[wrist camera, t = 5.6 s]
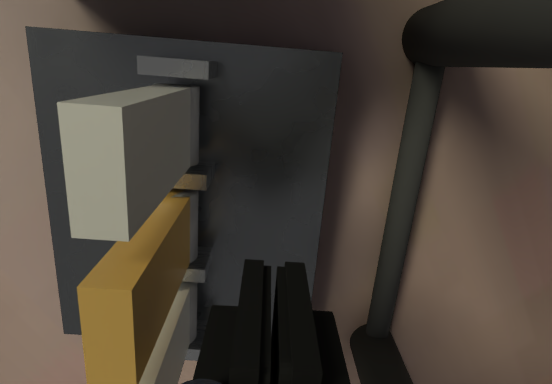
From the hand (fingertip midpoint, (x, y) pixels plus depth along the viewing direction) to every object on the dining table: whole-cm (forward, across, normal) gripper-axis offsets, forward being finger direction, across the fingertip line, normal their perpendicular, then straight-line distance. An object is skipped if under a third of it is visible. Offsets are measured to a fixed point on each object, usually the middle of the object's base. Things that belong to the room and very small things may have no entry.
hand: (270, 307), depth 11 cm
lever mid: (+5, +4, 0) cm, 6 cm away
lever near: (+5, +4, -4) cm, 8 cm away
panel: (+8, +4, 0) cm, 9 cm away
